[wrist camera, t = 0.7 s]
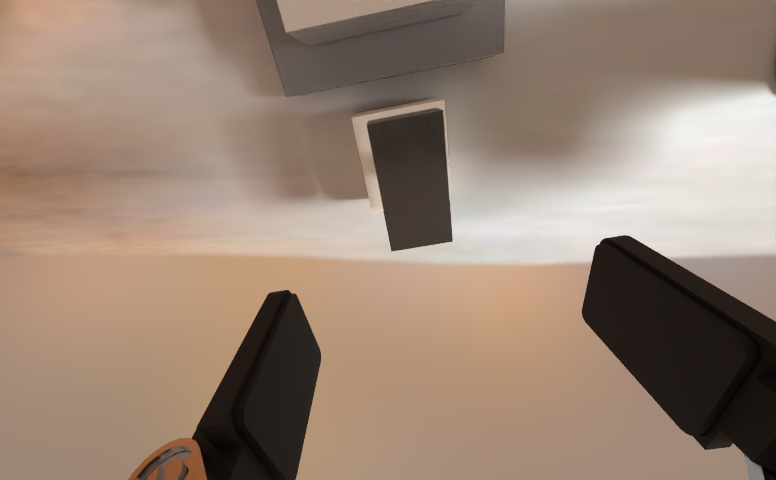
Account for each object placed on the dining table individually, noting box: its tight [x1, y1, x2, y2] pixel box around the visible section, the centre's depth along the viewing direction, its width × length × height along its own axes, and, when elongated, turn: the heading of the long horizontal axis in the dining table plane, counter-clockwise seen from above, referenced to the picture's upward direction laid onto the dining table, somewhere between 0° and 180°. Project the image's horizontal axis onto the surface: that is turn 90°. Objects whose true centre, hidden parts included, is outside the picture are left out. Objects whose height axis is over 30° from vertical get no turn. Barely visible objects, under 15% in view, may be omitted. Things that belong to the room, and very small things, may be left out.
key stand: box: [351, 98, 452, 214], centre depth 28 cm, size 8×9×4 cm
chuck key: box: [367, 108, 452, 251], centre depth 24 cm, size 5×9×11 cm, turn 10°
